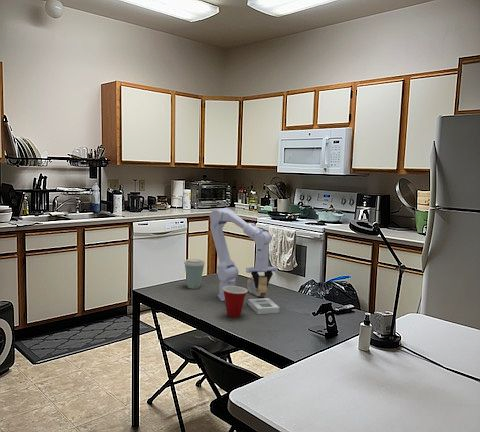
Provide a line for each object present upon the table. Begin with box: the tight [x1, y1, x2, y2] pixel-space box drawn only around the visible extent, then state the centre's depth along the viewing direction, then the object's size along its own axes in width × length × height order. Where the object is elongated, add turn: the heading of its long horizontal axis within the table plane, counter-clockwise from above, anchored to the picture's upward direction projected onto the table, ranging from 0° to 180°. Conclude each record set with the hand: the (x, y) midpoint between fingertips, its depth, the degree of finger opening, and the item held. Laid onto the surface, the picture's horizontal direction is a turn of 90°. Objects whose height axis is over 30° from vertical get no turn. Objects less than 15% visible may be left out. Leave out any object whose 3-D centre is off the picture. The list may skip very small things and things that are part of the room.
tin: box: [246, 276, 267, 298], centre depth 220 cm, size 15×3×8 cm, turn 30°
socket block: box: [247, 297, 280, 315], centre depth 199 cm, size 14×10×2 cm
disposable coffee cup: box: [184, 258, 205, 290], centre depth 230 cm, size 11×11×15 cm
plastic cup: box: [223, 285, 249, 319], centre depth 188 cm, size 11×11×12 cm
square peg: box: [256, 274, 268, 294], centre depth 202 cm, size 4×4×7 cm
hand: (261, 287), depth 202 cm, fingers closed on square peg, 4 cm apart
